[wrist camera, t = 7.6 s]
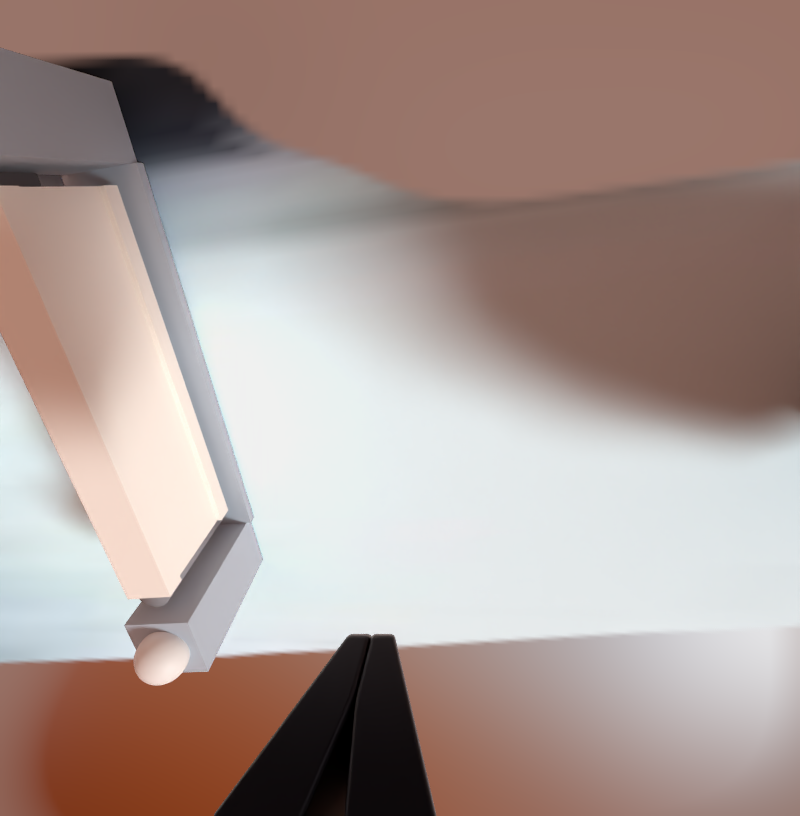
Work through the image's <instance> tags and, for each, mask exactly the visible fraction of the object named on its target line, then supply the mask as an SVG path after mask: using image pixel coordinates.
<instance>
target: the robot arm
mask: <svg viewBox="0 0 800 816" xmlns="http://www.w3.org/2000/svg"><path fill="white" fill-rule="evenodd" d="M214 816H436V812H435V808H434V803H433V799H432V795H431V791H430V786H429V782H428V778H427V773H426V769H425V764H424V760H423V756H422V752H421V747H420V743H419V739H418V734H417V730H416V726H415V721H414V718H413V713H412V709H411V705H410V701H409V696H408V691H407V687H406V683H405V678H404V674H403V670H402V666H401V661H400V657H399V653H398V648H397V644H396V640H395V637H394V635H392V634H374V635H373V636H372V637H371V635H369V634H351V635H349V636H348V637H347V638H346V639H345V640H344V642H343V643H342V644H341V646H340V647H339V648H338V650H337V651H336V652H335V654H334V655H333V656H332V658H331V659H330V661H329V662H328V663H327V664H326V666H325V667H324V668H323V670H322V671H321V672H320V674H319V675H318V677H317V678H316V679H315V681H314V682H313V683H312V684H311V686H310V687H309V689H308V690H307V691H306V692H305V694H304V695H303V696H302V698H301V699H300V701H299V702H298V703H297V704H296V706H295V707H294V709H293V710H292V711H291V712H290V714H289V715H288V717H287V718H286V719H285V721H284V722H283V723H282V724H281V726H280V727H279V728H278V730H277V731H276V733H275V734H274V735H273V736H272V738H271V739H270V741H269V742H268V743H267V745H266V746H265V747H264V748H263V750H262V751H261V753H260V754H259V755H258V756H257V758H256V759H255V760H254V762H253V763H252V765H251V766H250V767H249V768H248V770H247V771H246V773H245V774H244V775H243V777H242V778H241V779H240V781H239V782H238V783H237V785H236V786H235V787H234V789H233V790H232V791H231V793H230V794H229V795H228V797H227V798H226V799H225V801H224V802H223V803H222V805H221V806H220V807H219V809H218V810H217V811H216V813H215V814H214Z"/></svg>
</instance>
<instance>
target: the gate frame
mask: <svg viewBox="0 0 800 816" xmlns="http://www.w3.org/2000/svg"><path fill="white" fill-rule="evenodd" d="M37 174H44V175H64V176H61V177H62V180H63V183H64V185H65V187H67V186H103V185H117V186H118V189H119V192H120V195H121V198H122V201H123V204H124V207H125V210H126V213H127V216H128V218H129V221H130V224H131V227H132V230H133V233H134V236H135V239H136V242H137V245H138V248H139V251H140V254H141V256H142V259H143V262H144V265H145V268H146V271H147V274H148V277H149V280H150V283H151V286H152V289H153V292H154V294H155V297H156V300H157V303H158V306H159V309H160V312H161V315H162V318H163V321H164V324H165V327H166V330H167V332H168V335H169V338H170V341H171V344H172V347H173V350H174V353H175V356H176V359H177V362H178V365H179V368H180V370H181V373H182V376H183V379H184V382H185V385H186V388H187V391H188V394H189V397H190V400H191V403H192V406H193V408H194V411H195V414H196V417H197V420H198V423H199V426H200V429H201V432H202V435H203V438H204V441H205V444H206V446H207V449H208V452H209V455H210V458H211V461H212V464H213V467H214V470H215V473H216V476H217V479H218V482H219V484H220V487H221V490H222V493H223V496H224V499H225V502H226V505H227V508H228V511H227V513H226V515H225V517H224V518H223V520H222V521H221V523H220V524H219V526H218V527H217V529H216V530H215V532H214V533H213V535H212V536H211V538H210V539H209V541H208V542H207V544H206V545H205V547H204V548H203V550H202V551H201V553H200V554H199V556H198V557H197V559H196V560H195V562H194V563H193V565H192V566H191V568H190V569H189V571H188V572H187V574H186V575H185V577H184V578H183V580H182V581H181V583H180V584H179V586H178V587H177V589H176V590H175V592H174V593H173V595H172V596H171V598H170V599H169V601H168V602H167V603H166V604H165V605H163V606H160V607H154V606H150V605H147V604H145V603H144V602H141V603H140V605H139V606H138V607H137V609H136V610H135V611H134V613H133V614H132V616H131V617H130V618H129V620H128V621H127V622H126V624H125V625H124V626H125V628H126V630H127V632H128V634H129V636H130V638H131V640H132V642H133V644H134V646H135V648H136V652H135V656H134V668H135V672H136V674H137V675H138V677H139V678H140V679H141V680H142V681H144V682H145V683H147V684H150V685H163V684H166V683H169V682H171V681H173V680H174V679H176V678H177V677H178V676H179V675H180V674H181V673H182V672H208V671H209V669H210V667H211V664H212V662H213V661H214V658H215V656H216V654H217V652H218V650H219V648H220V646H221V644H222V642H223V640H224V638H225V636H226V634H227V632H228V630H229V628H230V626H231V624H232V622H233V620H234V617H235V615H236V613H237V611H238V609H239V607H240V605H241V603H242V601H243V599H244V597H245V595H246V593H247V591H248V589H249V587H250V585H251V583H252V581H253V579H254V576H255V574H256V572H257V570H258V568H259V566H260V564H261V562H262V560H263V558H262V555H261V552H260V548H259V545H258V542H257V539H256V536H255V533H254V530H253V526H252V523H251V521H252V520H253V518H254V516H253V513H252V510H251V506H250V503H249V500H248V497H247V494H246V490H245V487H244V484H243V481H242V478H241V474H240V471H239V468H238V465H237V462H236V458H235V455H234V452H233V449H232V446H231V442H230V439H229V436H228V433H227V430H226V426H225V423H224V420H223V417H222V414H221V410H220V407H219V404H218V401H217V398H216V394H215V391H214V388H213V385H212V382H211V378H210V375H209V372H208V369H207V366H206V362H205V359H204V356H203V353H202V350H201V346H200V343H199V340H198V337H197V334H196V330H195V327H194V324H193V321H192V318H191V314H190V311H189V308H188V305H187V302H186V298H185V295H184V292H183V289H182V286H181V283H180V279H179V276H178V273H177V270H176V267H175V263H174V260H173V257H172V254H171V251H170V247H169V244H168V241H167V238H166V235H165V231H164V228H163V225H162V222H161V219H160V215H159V212H158V209H157V206H156V203H155V199H154V196H153V193H152V190H151V187H150V183H149V180H148V177H147V174H146V171H145V167H144V164H143V163H137V160H136V157H135V154H134V151H133V147H132V144H131V141H130V138H129V135H128V132H127V128H126V125H125V122H124V119H123V116H122V113H121V110H120V106H119V103H118V100H117V97H116V94H115V91H114V87H113V84H112V82H111V81H108V80H105V79H101V78H98V77H95V76H92V75H88V74H85V73H82V72H78V71H75V70H72V69H69V68H65V67H62V66H59V65H56V64H52V63H49V62H46V61H43V60H39V59H36V58H33V57H30V56H26V55H23V54H20V53H16V52H13V51H9V50H6V49H3V48H0V186H19V187H42V186H41V184H40V181H39V179H38V176H37Z"/></svg>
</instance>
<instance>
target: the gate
mask: <svg viewBox="0 0 800 816" xmlns="http://www.w3.org/2000/svg"><path fill="white" fill-rule="evenodd" d="M0 332H1V334H2V337H3V339H4V341H5V343H6V345H7V347H8V349H9V351H10V353H11V355H12V357H13V360H14V362H15V364H16V366H17V368H18V370H19V372H20V374H21V376H22V378H23V380H24V383H25V385H26V387H27V389H28V391H29V393H30V395H31V397H32V399H33V401H34V404H35V406H36V408H37V410H38V412H39V414H40V416H41V418H42V420H43V422H44V424H45V427H46V429H47V431H48V433H49V435H50V437H51V439H52V441H53V443H54V445H55V448H56V450H57V452H58V454H59V456H60V458H61V460H62V462H63V464H64V466H65V468H66V471H67V473H68V475H69V477H70V479H71V481H72V483H73V485H74V487H75V489H76V492H77V494H78V496H79V498H80V500H81V502H82V504H83V506H84V508H85V510H86V512H87V515H88V517H89V519H90V521H91V523H92V525H93V527H94V529H95V531H96V533H97V535H98V538H99V540H100V542H101V544H102V546H103V548H104V550H105V552H106V554H107V556H108V559H109V561H110V563H111V565H112V567H113V569H114V571H115V573H116V575H117V577H118V579H119V582H120V584H121V586H122V588H123V590H124V592H125V594H126V596H127V598H128V599H140V600H141V601H142V602H144V603H145V604H147V605H150V606H154V607H160V606H163V605H165V604H166V603H167V602H168V601H169V599H170V598H171V596H172V595H173V593H174V592H175V590H176V589H177V587H178V586H179V584H180V583H181V581H182V580H183V578H184V577H185V575H186V574H187V572H188V571H189V569H190V568H191V566H192V565H193V563H194V562H195V560H196V559H197V557H198V556H199V554H200V553H201V551H202V550H203V548H204V547H205V545H206V544H207V542H208V541H209V539H210V538H211V536H212V535H213V533H214V532H215V530H216V529H217V527H218V526H219V524H220V523H221V521H222V520H223V518H224V517H225V515H226V513H227V511H228V508H227V505H226V502H225V499H224V496H223V493H222V490H221V487H220V484H219V482H218V479H217V476H216V473H215V470H214V467H213V464H212V461H211V458H210V455H209V452H208V449H207V446H206V444H205V441H204V438H203V435H202V432H201V429H200V426H199V423H198V420H197V417H196V414H195V411H194V408H193V406H192V403H191V400H190V397H189V394H188V391H187V388H186V385H185V382H184V379H183V376H182V373H181V370H180V368H179V365H178V362H177V359H176V356H175V353H174V350H173V347H172V344H171V341H170V338H169V335H168V332H167V330H166V327H165V324H164V321H163V318H162V315H161V312H160V309H159V306H158V303H157V300H156V297H155V294H154V292H153V289H152V286H151V283H150V280H149V277H148V274H147V271H146V268H145V265H144V262H143V259H142V256H141V254H140V251H139V248H138V245H137V242H136V239H135V236H134V233H133V230H132V227H131V224H130V221H129V218H128V216H127V213H126V210H125V207H124V204H123V201H122V198H121V195H120V192H119V189H118V186H117V185H103V186H67V187H19V186H0Z"/></svg>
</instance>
